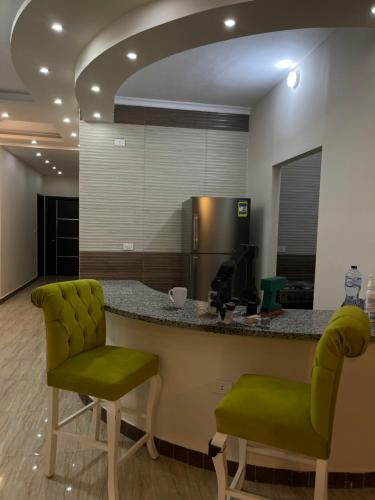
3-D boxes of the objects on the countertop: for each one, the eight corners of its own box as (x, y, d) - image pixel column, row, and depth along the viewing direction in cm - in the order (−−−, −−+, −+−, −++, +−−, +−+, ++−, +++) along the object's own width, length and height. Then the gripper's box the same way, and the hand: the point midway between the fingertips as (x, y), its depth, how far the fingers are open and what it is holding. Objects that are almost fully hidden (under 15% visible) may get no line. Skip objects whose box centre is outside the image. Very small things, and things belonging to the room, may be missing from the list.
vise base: (234, 316, 202) (234, 310, 202) (265, 323, 188) (265, 317, 187) (222, 319, 195) (222, 312, 195) (253, 327, 181) (253, 320, 180)
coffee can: (226, 311, 214) (227, 287, 213) (224, 315, 204) (225, 290, 203) (208, 310, 216) (209, 286, 215) (206, 313, 206) (207, 289, 205)
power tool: (281, 305, 237) (283, 275, 236) (291, 307, 232) (293, 276, 231) (257, 313, 212) (259, 279, 211) (268, 315, 208) (270, 280, 207)
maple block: (223, 320, 191) (223, 309, 190) (232, 322, 186) (232, 311, 186) (218, 321, 188) (218, 310, 188) (227, 324, 184) (227, 312, 183)
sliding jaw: (255, 319, 191) (255, 313, 191) (272, 323, 184) (272, 317, 184) (245, 322, 185) (245, 316, 185) (262, 326, 178) (262, 320, 178)
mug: (188, 307, 222) (189, 288, 222) (181, 309, 215) (181, 290, 215) (172, 304, 229) (172, 286, 228) (164, 306, 222) (165, 287, 221)
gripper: (226, 285, 198) (224, 313, 199) (202, 288, 185) (201, 318, 186) (242, 288, 191) (241, 317, 191) (219, 291, 177) (217, 323, 178)
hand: (225, 319), depth 187 cm, fingers closed on maple block, 4 cm apart
